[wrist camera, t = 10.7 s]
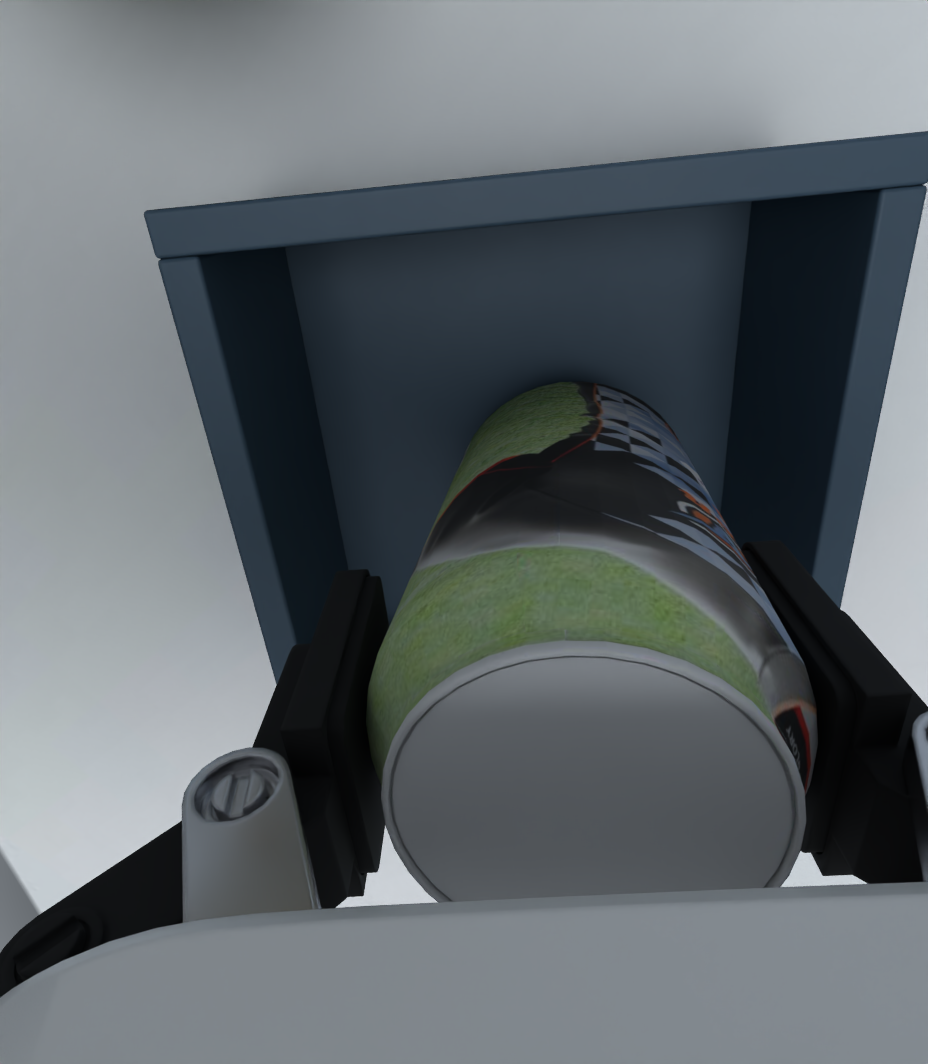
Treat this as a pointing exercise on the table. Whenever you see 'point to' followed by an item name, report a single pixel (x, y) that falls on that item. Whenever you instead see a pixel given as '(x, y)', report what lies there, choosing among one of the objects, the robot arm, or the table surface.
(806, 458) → the bin
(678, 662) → the beverage can
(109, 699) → the table surface
